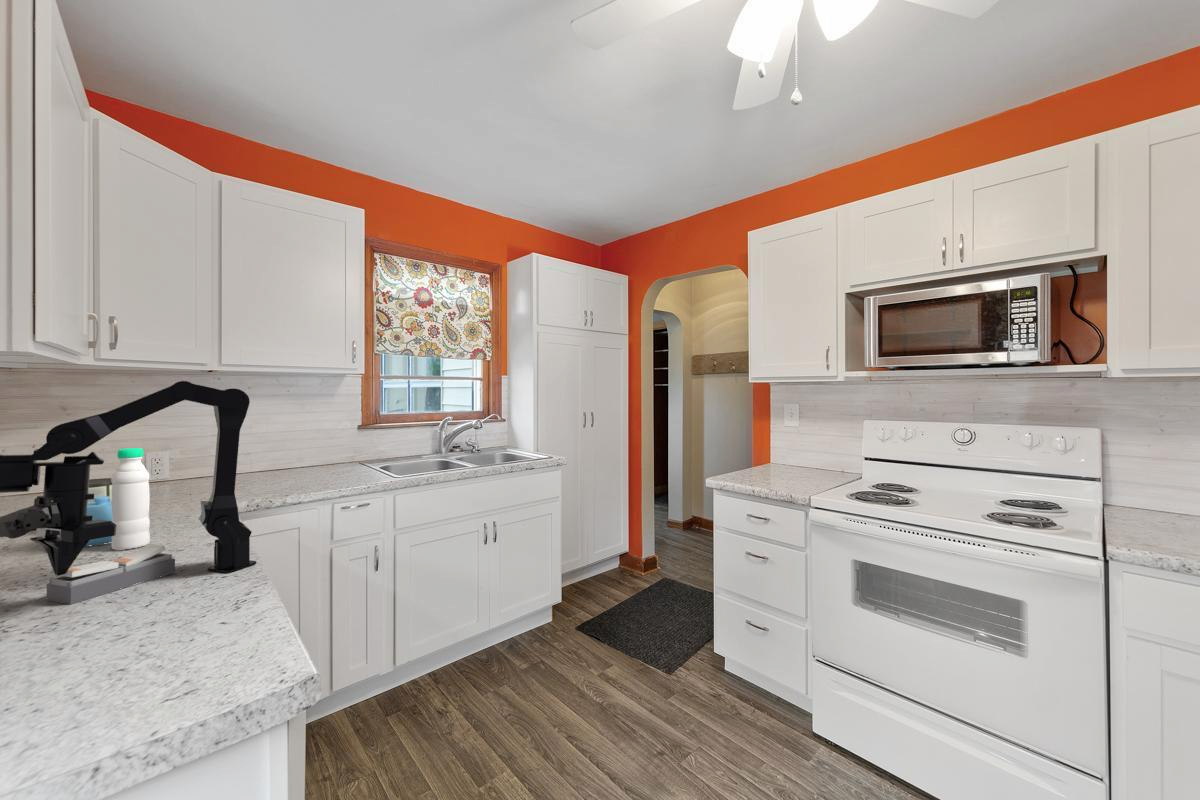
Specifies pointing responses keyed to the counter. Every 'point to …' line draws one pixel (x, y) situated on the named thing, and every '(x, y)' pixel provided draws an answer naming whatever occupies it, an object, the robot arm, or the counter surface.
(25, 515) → the robot arm
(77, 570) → the rocker
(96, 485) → the coffee can
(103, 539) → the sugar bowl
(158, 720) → the counter surface
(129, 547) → the white bottle
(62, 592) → the rocker switch panel
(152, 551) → the block
